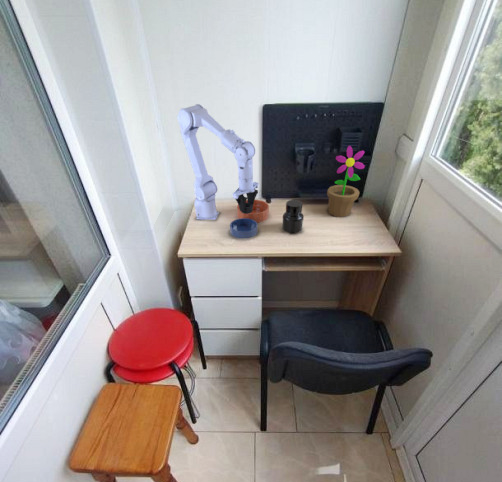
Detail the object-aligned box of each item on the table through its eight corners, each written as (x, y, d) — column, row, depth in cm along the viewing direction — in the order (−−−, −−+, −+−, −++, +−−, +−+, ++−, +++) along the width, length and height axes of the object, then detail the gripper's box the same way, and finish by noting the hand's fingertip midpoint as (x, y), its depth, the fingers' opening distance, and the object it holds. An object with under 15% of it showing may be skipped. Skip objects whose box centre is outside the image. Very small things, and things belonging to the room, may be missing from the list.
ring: (240, 213, 122) (239, 207, 120) (242, 208, 125) (241, 202, 123) (251, 214, 121) (251, 207, 119) (253, 208, 125) (253, 202, 123)
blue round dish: (228, 238, 121) (227, 231, 119) (233, 224, 130) (232, 217, 127) (255, 240, 120) (255, 232, 118) (259, 226, 129) (259, 218, 126)
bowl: (234, 223, 131) (234, 213, 127) (240, 208, 142) (239, 198, 138) (267, 225, 129) (267, 214, 126) (270, 210, 140) (270, 200, 136)
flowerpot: (323, 217, 133) (335, 147, 113) (324, 204, 143) (336, 137, 123) (354, 220, 131) (372, 149, 110) (353, 206, 141) (370, 139, 120)
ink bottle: (306, 230, 125) (310, 204, 117) (292, 236, 121) (294, 210, 113) (291, 221, 131) (294, 196, 122) (277, 227, 127) (278, 202, 119)
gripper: (241, 185, 107) (243, 218, 117) (264, 173, 115) (263, 205, 125) (227, 180, 111) (230, 213, 120) (250, 170, 119) (251, 201, 128)
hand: (246, 209), depth 123 cm, fingers closed on ring, 5 cm apart
